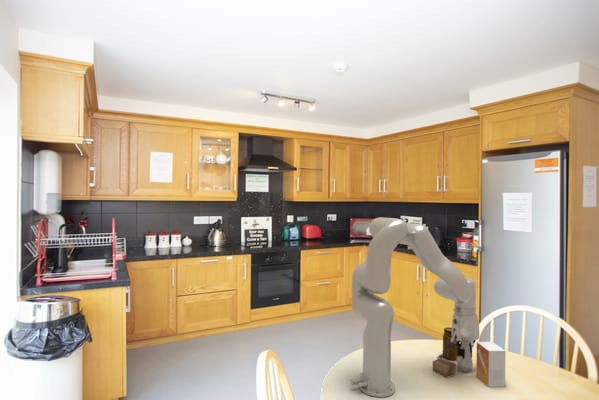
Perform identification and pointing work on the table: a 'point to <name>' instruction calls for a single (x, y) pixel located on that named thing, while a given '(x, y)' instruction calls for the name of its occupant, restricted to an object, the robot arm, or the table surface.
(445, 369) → the walnut block
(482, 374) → the small box
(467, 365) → the salt shaker
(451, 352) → the condiment
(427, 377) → the table surface
